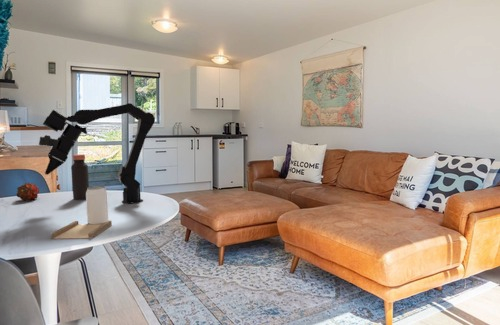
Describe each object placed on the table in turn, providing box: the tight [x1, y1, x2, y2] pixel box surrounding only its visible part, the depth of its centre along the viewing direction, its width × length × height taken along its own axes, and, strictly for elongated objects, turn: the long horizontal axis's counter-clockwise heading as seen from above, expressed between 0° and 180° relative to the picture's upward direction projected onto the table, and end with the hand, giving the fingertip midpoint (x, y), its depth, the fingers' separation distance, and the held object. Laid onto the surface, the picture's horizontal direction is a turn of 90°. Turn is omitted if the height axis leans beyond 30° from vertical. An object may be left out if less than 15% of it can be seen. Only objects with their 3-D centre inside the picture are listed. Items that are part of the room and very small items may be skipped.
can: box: [85, 185, 109, 224], centre depth 120 cm, size 6×6×12 cm
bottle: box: [70, 154, 90, 201], centre depth 162 cm, size 7×7×20 cm
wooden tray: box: [50, 220, 113, 240], centre depth 111 cm, size 14×12×2 cm
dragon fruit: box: [16, 182, 40, 202], centre depth 162 cm, size 8×8×12 cm
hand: (46, 172), depth 138 cm, fingers open, 9 cm apart
